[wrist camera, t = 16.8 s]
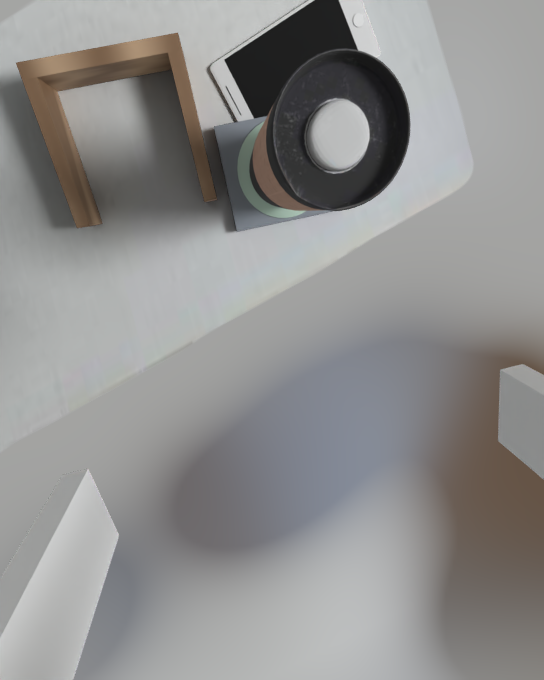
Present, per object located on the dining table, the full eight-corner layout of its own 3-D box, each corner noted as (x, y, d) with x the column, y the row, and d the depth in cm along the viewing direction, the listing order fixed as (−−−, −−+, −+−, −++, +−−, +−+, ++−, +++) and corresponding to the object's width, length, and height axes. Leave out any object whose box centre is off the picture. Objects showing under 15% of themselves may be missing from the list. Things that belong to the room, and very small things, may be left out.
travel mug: (304, 114, 36) (390, 15, 18) (330, 191, 39) (429, 176, 20) (233, 147, 37) (244, 84, 18) (264, 222, 39) (302, 235, 21)
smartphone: (379, 57, 37) (382, 54, 36) (247, 141, 38) (247, 140, 37) (348, -24, 35) (352, -30, 34) (208, 69, 36) (208, 65, 35)
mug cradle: (91, 226, 39) (77, 228, 35) (38, 78, 34) (16, 62, 30) (217, 199, 39) (216, 199, 36) (182, 51, 35) (177, 32, 31)
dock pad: (236, 230, 41) (237, 231, 39) (214, 129, 37) (213, 126, 36) (342, 208, 41) (346, 208, 40) (330, 105, 38) (333, 102, 36)
